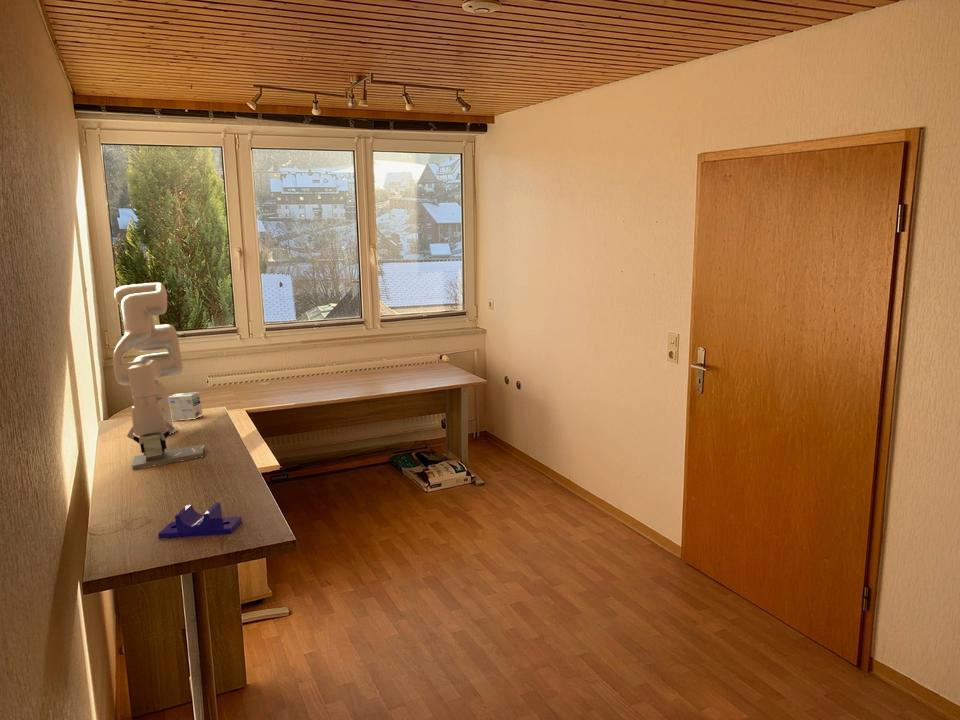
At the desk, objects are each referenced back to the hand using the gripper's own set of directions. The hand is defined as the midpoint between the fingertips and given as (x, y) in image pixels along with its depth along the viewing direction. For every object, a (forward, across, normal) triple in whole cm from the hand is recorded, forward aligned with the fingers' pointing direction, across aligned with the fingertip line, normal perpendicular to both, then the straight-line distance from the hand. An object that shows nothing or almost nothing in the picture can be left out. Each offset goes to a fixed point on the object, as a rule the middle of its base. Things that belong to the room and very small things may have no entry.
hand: (154, 452), depth 241 cm
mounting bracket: (+4, -13, +76) cm, 77 cm away
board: (+3, -4, 0) cm, 5 cm away
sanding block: (+2, 0, 0) cm, 2 cm away
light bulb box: (+4, -10, -61) cm, 62 cm away
